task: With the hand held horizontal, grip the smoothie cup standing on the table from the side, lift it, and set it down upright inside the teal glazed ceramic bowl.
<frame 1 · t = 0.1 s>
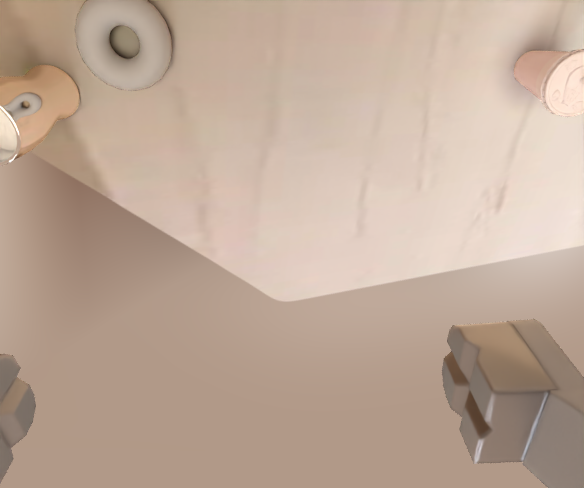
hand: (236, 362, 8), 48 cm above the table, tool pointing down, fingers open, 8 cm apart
beer glass: (53, 91, 52), on the table
smoothie: (528, 67, 52), on the table
donut: (129, 40, 49), on the table
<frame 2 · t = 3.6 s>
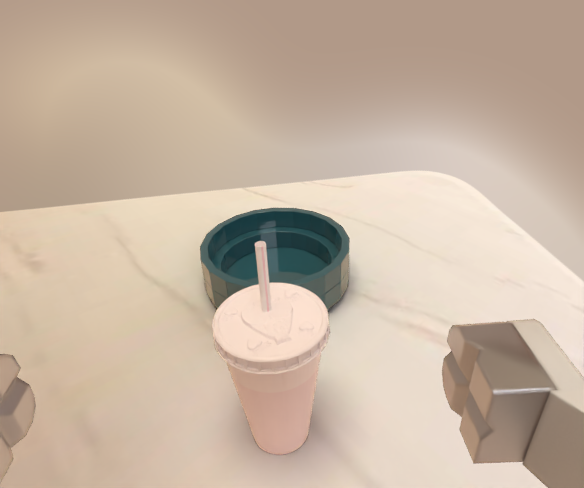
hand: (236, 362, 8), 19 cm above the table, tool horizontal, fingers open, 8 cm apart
bowl: (277, 281, 43), on the table
smoothie: (281, 430, 29), on the table
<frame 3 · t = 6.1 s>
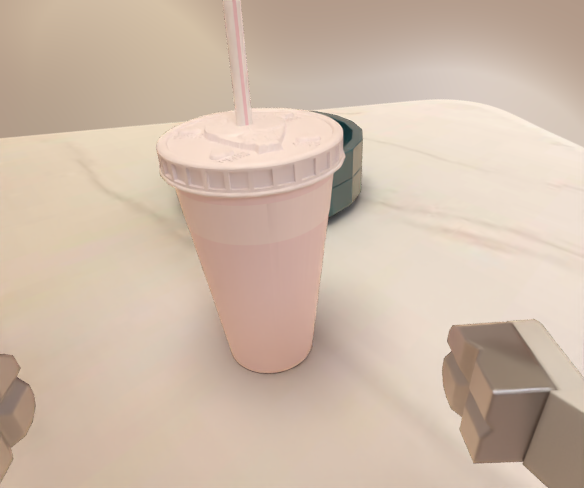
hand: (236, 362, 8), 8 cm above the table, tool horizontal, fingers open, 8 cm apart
bowl: (271, 193, 34), on the table
smoothie: (272, 345, 20), on the table
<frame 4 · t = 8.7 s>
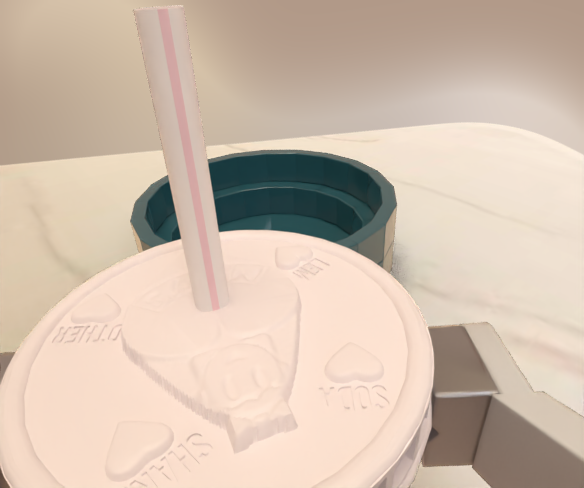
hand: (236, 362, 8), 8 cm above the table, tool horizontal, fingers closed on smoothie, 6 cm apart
bowl: (270, 264, 25), on the table
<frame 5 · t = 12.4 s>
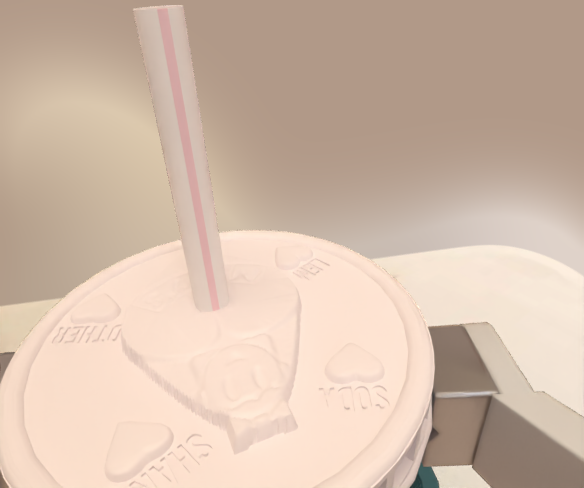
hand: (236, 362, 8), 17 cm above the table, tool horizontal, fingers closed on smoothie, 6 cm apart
when the fingers open (9 cm above the table, at t = 16.1 s): smoothie stays where it is, resting on bowl.
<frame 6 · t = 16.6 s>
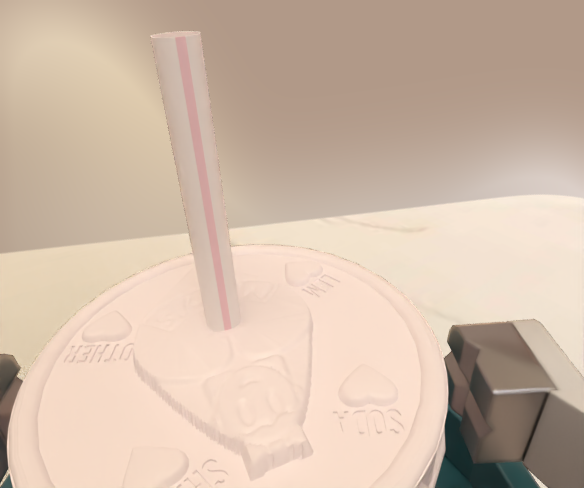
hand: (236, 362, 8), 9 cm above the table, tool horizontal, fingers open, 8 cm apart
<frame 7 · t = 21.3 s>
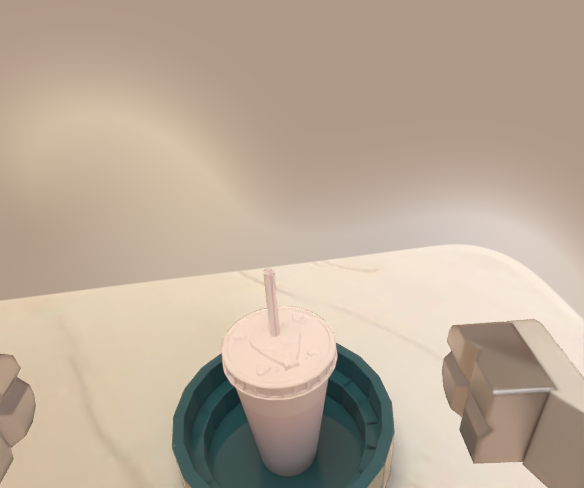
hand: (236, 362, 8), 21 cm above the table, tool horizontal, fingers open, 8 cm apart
bowl: (286, 453, 30), on the table
smoothie: (288, 451, 29), resting on bowl
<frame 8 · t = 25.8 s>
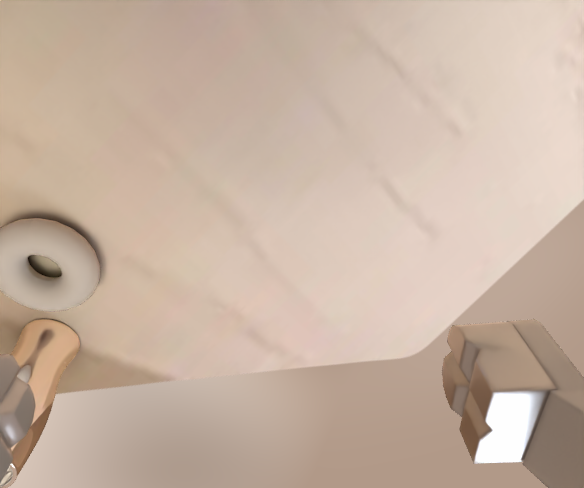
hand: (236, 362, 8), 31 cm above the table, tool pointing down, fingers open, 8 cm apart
beer glass: (52, 338, 49), on the table
donut: (53, 255, 43), on the table
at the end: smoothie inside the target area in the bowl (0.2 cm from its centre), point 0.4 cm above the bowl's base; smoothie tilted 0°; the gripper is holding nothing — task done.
